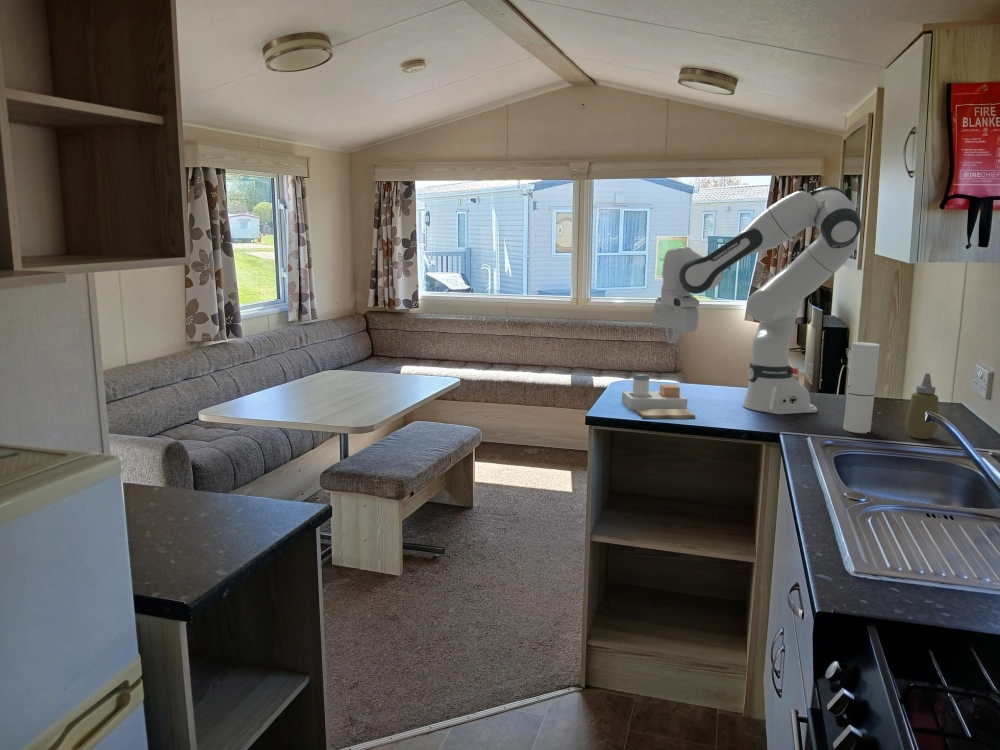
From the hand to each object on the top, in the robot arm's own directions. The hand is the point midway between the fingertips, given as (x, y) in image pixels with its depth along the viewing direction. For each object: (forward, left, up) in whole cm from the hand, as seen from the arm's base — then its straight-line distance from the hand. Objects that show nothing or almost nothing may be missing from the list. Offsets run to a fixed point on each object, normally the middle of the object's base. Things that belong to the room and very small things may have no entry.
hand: (672, 342), depth 245 cm
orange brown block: (0, 0, -18) cm, 18 cm away
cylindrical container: (-46, +31, -21) cm, 59 cm away
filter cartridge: (+9, 0, -21) cm, 23 cm away
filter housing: (+5, 0, -21) cm, 21 cm away
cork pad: (+5, +13, -21) cm, 25 cm away
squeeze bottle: (-60, +39, -21) cm, 75 cm away
